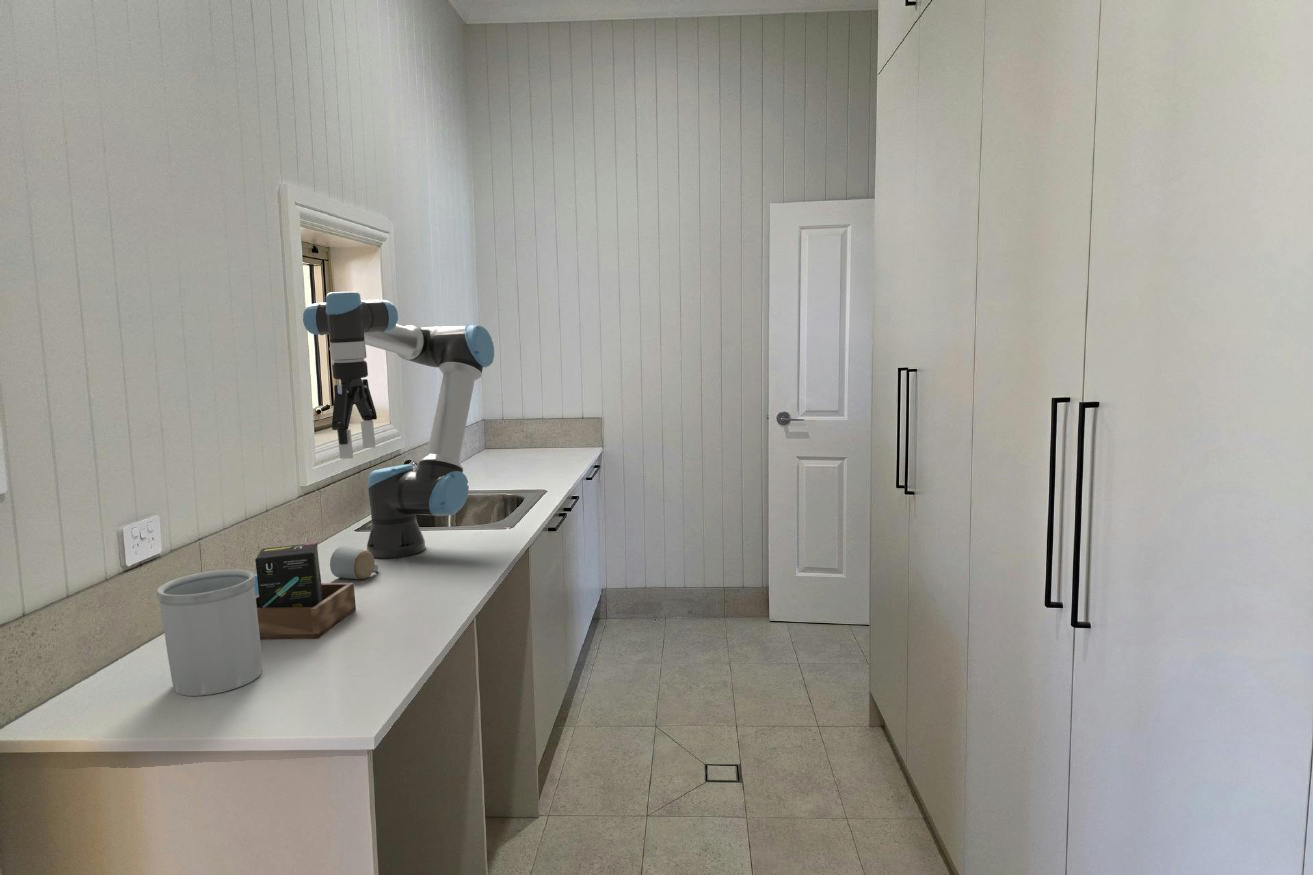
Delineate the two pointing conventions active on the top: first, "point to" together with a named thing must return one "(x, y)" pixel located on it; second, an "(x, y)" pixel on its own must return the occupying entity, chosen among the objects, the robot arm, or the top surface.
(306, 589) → the tampon box
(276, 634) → the box
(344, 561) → the ceramic mug
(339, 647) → the top surface
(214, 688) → the utensil holder
